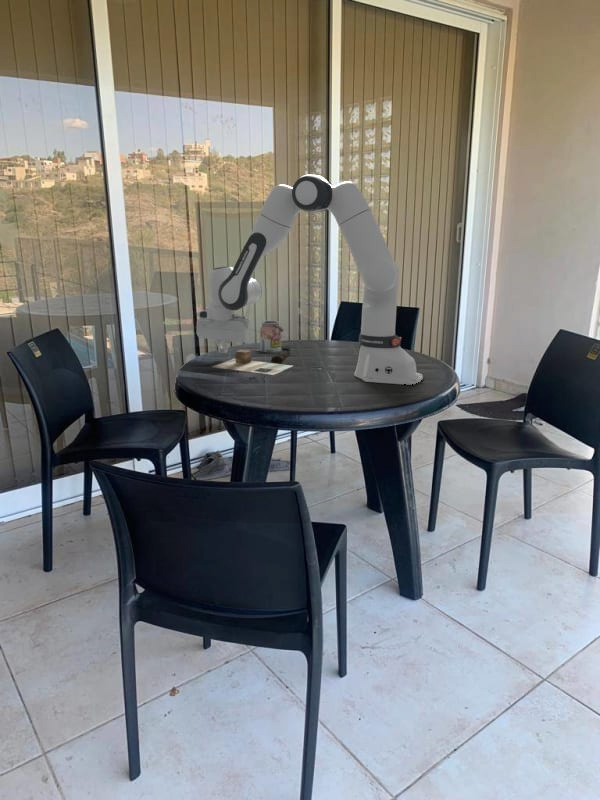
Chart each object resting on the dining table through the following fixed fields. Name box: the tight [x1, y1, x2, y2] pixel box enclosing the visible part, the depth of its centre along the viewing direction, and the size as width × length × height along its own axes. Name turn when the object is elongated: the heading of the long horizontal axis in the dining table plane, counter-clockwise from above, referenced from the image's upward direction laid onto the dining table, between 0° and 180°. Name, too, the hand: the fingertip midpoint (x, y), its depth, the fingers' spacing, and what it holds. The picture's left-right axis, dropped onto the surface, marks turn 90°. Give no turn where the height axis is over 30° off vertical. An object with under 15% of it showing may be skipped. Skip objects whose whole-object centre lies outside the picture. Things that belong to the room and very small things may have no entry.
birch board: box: [211, 358, 294, 380], centre depth 198 cm, size 24×15×2 cm, turn 65°
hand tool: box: [270, 345, 291, 364], centre depth 213 cm, size 19×4×5 cm, turn 165°
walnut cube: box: [234, 349, 252, 364], centre depth 203 cm, size 4×4×4 cm
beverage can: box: [259, 320, 285, 354], centre depth 227 cm, size 9×8×12 cm
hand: (223, 352), depth 206 cm, fingers closed
